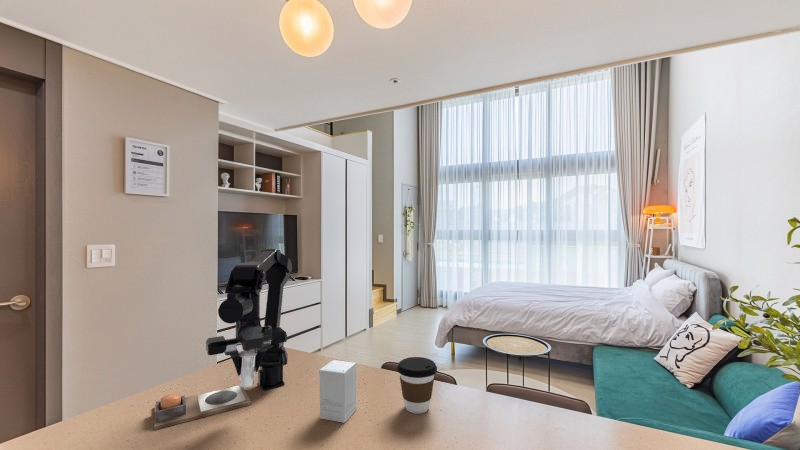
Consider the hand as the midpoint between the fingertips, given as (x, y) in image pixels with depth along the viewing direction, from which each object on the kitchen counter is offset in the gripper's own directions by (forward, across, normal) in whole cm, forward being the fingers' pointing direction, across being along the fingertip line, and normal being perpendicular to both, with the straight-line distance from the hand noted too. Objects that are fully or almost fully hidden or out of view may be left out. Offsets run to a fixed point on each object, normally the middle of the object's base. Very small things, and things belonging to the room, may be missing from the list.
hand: (247, 373), depth 92 cm
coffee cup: (+11, +39, -21) cm, 46 cm away
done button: (+9, -16, +12) cm, 22 cm away
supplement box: (+11, +20, -12) cm, 26 cm away
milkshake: (+3, 0, 0) cm, 3 cm away
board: (+11, -9, +12) cm, 19 cm away
